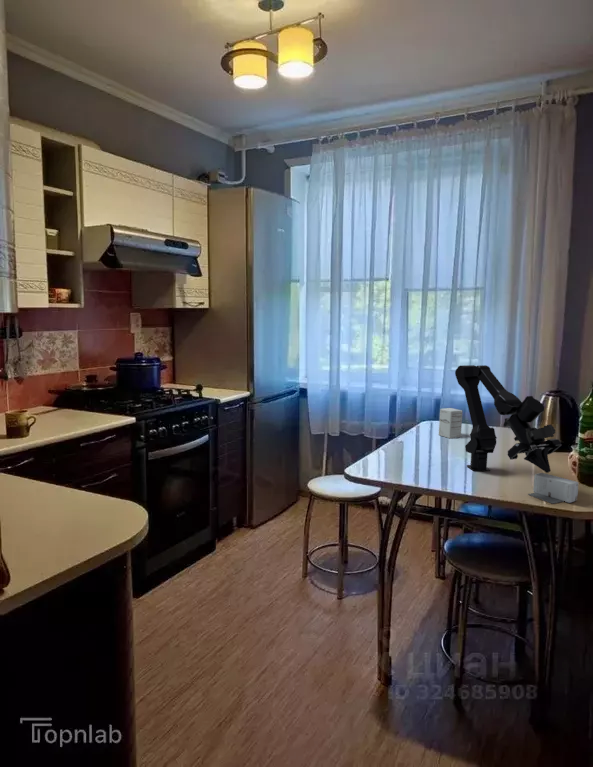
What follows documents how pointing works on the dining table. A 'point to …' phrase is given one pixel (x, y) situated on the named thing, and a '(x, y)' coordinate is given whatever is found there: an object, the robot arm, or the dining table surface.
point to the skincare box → (556, 487)
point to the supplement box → (450, 422)
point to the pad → (545, 498)
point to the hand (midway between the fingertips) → (548, 472)
